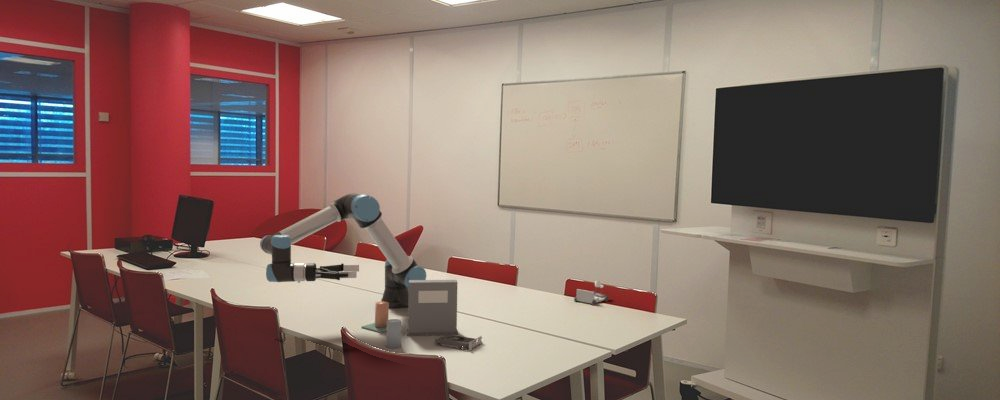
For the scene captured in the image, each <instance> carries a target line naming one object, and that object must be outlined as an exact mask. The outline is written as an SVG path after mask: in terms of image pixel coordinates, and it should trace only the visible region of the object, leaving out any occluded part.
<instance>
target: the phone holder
mask: <svg viewBox="0 0 1000 400" xmlns="http://www.w3.org/2000/svg"><path fill="white" fill-rule="evenodd" d="M594 287H595V291H590V290H585V289H579V288H576V296H574V299H573V301H574V302H575V303H577V302H582V303H587V304H591V305H592V306H596V304H597V303H599V302H601V303H602V302H609V299H610V298H609V296H608V295H606V294H604V293H603V288H604V287H605V286H604V285H603V284H602V283H601V282H600V281H598V280H595V281H594ZM597 288H600V292H599V293H598V292H596V291H597Z"/></svg>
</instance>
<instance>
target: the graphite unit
mask: <svg viewBox="0 0 1000 400" xmlns="http://www.w3.org/2000/svg"><path fill="white" fill-rule="evenodd" d="M407 307H408V310H407V311H408V314H407V316H408V317H407V319H408V321H407V322H408V323H407V328H406V336H407V337H413V336H414V337H415V336H416V337H417V336H420V337H421V336H443V335H444V334H447V335H454V336H459V331H458V328H457V327H458V324H457V323H458V319H457V318H458V315H457V314H458V281H457V279H426V280H409V301H408V306H407Z"/></svg>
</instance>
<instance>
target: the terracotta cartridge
mask: <svg viewBox="0 0 1000 400" xmlns="http://www.w3.org/2000/svg"><path fill="white" fill-rule="evenodd" d="M374 308H375V309H374V311H375V312H374V314H375V315H374V323H375V327H378V328H385V327H387V320H389V315H390V314H389V312H390V311H389V310H390V309H389V308H390V307H389V303H388V302H384V301H381V300H380V301H377V302H375V307H374Z"/></svg>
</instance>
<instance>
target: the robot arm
mask: <svg viewBox="0 0 1000 400" xmlns="http://www.w3.org/2000/svg"><path fill="white" fill-rule="evenodd" d="M380 207H381V205H380V204H379V200H377V198H375V197H373V196H372V195H370V194H365V193H356V192H355V193H354V192H351V193H347V194H345V195H342V196H341V197H339V198H337V199H336V200H333V201H331V202H330V203H329V204H328V206H326V207H325V208H323V209H321V210H319V211H317V212H314V213H313V214H311V215H309V216H307V217H305V218H303V219H301V220H299V221H297V222H296V223H294V224H292V225H289V226H288V227H286V228H284V229H282V230H279V231H278V232H276V233H273V234H272V235H265V236H263V237H262V238H261V239H260V243H259V247H260V249H261V250H262V252H264V253H266V254H268V255H271V263H268V264H267V266H266V271H265V275H266V280H267V281H268V282H272V283H288V282H290V283H291V282H297V283H298V284H299V283H301V282H305V281H306V282H316V279H326V280H336V281H340V280H341V279H357V272H360V265H359V264H344V263H341V264H332V265H324V266H323V265H320V266H319V267H317V263H315V262H313V263H312V262H310V263H309V262H308V263H304V262H300V263H298V262H297V263H292V245H293V244H296V243H297V242H299V241H301V240H303V239H305V238H306V237H309V236H310V235H312V234H315V233H317V232H318V231H320V230H322V229H324V228H326V227H327V226H328V227H329V225H333V223H336V222H341V221H345V220H347V219H353V220H354V221H355V223H356V224H357V225H358V227H359V228H360V229H363V230H364V229H365V230H366V232H367V234H368V235H369V236H370V237H371V239H372V240H373V242H374V243H375V244H376V246H377V247H378V249H379V250H380V251H381V253H382V254H383V256H384V257H385V259H386V260H385V262H384V291H383V295H382V297H381V300H380V302H381V301H384V302H388V303H389V308H391V309H392V308H394V309H397V308H399V309H400V308H406V307H408V301H409V280H427V271H426V270H425V268H424V267H423V266H421V265H419V264H418V263H417V262H416V260H415V258H413V256H411V255H407V252H406V251H404V249H403V247H402V246H401V244H400V243H399V241H398V240H397V239H396V237H395V236H394V234H393V233H392V232H391V230H390V228H388V226H387V224H386V222H385V221H384V220H383V218H382V216H383V212H382V211H381V208H380Z"/></svg>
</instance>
